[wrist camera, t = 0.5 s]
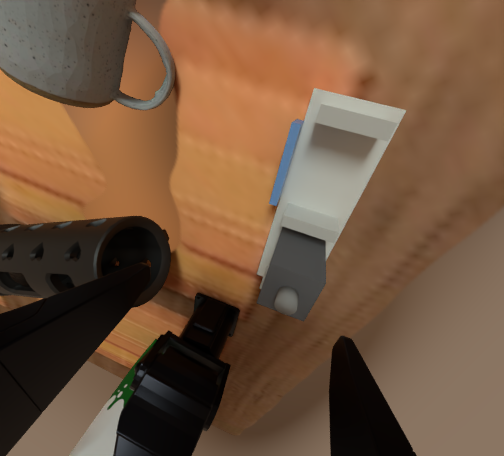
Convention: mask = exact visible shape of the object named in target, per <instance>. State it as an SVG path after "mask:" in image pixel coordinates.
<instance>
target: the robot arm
mask: <svg viewBox="0 0 504 456" xmlns="http://www.w3.org/2000/svg"><path fill="white" fill-rule="evenodd" d="M150 279H151V273H150V266H149V265H148V264H145V263H138V264H135V265H132V266H130V267H127V268H124V269H122V270H119V271H116V272H114V273H111V274H108V275H106V276H103V277H100V278H98V279H95V280H92V281H90V282H87V283H84V284H82V285H79V286H76V287H74V288H71V289H68V290H66V291H63V292H60V293H58V294H55V295H52V296H50V297H48V298H44V299H41V300H39V301H36V302H33V303H31V304H28V305H25V306H22V307H19V308H17V309H14V310H11V311H8V312H5V313H1V314H0V456H6V455H7V454H8V452H9V451H10V450H11V449H12V448H13V447H14V445H15V444H16V443H17V442H18V441H19V440H20V438H21V437H22V436H23V435H24V434H25V433H26V431H27V430H28V429H29V428H30V426H31V425H32V424H33V423H34V422H35V421H36V419H37V418H38V417H39V416H40V415H41V414H42V412H43V411H44V410H45V409H46V408H47V407H48V405H49V404H50V403H51V402H52V401H53V399H54V398H55V397H56V396H57V395H58V394H59V392H60V391H61V390H62V389H63V388H64V387H65V385H66V384H67V383H68V382H69V381H70V379H71V378H72V377H73V376H74V375H75V374H76V372H77V371H78V370H79V369H80V368H81V367H82V365H83V364H84V363H85V362H86V361H87V360H88V358H89V357H90V356H91V355H92V354H93V353H94V351H95V350H96V349H97V348H98V347H99V346H100V344H101V343H102V342H103V341H104V340H105V338H106V337H107V336H108V335H109V334H110V333H111V331H112V330H113V329H114V328H115V327H116V326H117V324H118V323H119V322H120V321H121V320H122V319H123V317H124V316H125V315H126V314H127V313H128V311H129V310H130V309H131V307H132V306H133V305H134V303H135V302H136V300H137V299H138V298H139V296H140V295H141V293H142V292H143V290H144V289H145V287H146V286H147V285H148V283H149V282H150ZM239 312H240V310H239V309H238V308H236V307H233V306H231V305H228V304H226V303H223V302H221V301H218V300H216V299H213V298H211V297H208V296H206V295H203V294H201V293H197V294H196V296H195V304H194V313H193V315H192V317H191V318H190V320H189V321H188V323H187V325H186V326H185V328H184V329H183V331H182V333H181V334H180V336H179V337H178V336H176V335H174V334H172V332H171V331H169V330H168V332H167V333H166V334H165V335H160V337H159V338H158V340H157V341H156V342H155V344H154V345H153V346H152V348H151V349H150V350H149V351H148V352H147V353H146V354H145V356H144V357H143V358H142V359H141V360H140V361H139V362H138V363H137V365H136V366H135V368H134V370H135V376H134V378H133V381H132V383H131V385H130V389H131V390H133V391H134V392H133V393H132V395H131V396H130V398H129V400H128V401H127V403H126V405H125V406H124V408H123V409H122V411H121V414H120V417H119V422H118V426H117V431H116V434H117V436H116V442H115V448H114V454H113V456H192V453H193V451H194V449H195V447H196V444H197V442H198V440H199V438H200V435H201V433H202V430H204V431H207V430H208V429H209V427H210V425H211V423H212V421H213V419H214V417H215V415H216V413H217V410H218V408H219V405H220V402H221V398H222V395H223V391H224V388H225V384H226V380H227V377H228V373H229V369H230V364H228V363H224V362H223V361H221V360H219V357H220V354H221V352H222V349H223V347H224V345H225V342H226V340H227V337H228V336H230V337H232V336H233V333H234V330H235V326H236V323H237V319H238V316H239ZM163 353H164V354H163ZM329 409H330V445H331V456H416V454H415V452H413V449H412V447H411V445H410V443H409V441H408V440H407V438H406V436H405V434H404V432H403V430H402V429H401V427H400V425H399V423H398V421H397V420H396V418H395V416H394V414H393V413H392V411H391V409H390V407H389V405H388V403H387V401H386V400H385V398H384V396H383V394H382V392H381V391H380V389H379V387H378V385H377V384H376V382H375V380H374V378H373V376H372V375H371V373H370V371H369V369H368V367H367V365H366V363H365V362H364V360H363V358H362V356H361V354H360V353H359V351H358V349H357V347H356V346H355V344H354V342H353V340H352V339H350V338H348V337H345V336H340V337H339V339H338V340H337V342H336V343H335V345H334V346H333V349H332V359H331V372H330V385H329Z"/></svg>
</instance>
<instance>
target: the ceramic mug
mask: <svg viewBox="0 0 504 456" xmlns="http://www.w3.org/2000/svg"><path fill="white" fill-rule="evenodd" d="M135 4H136V0H0V69H1V70H2V71H3V72H4V73H5V75H7V76H8V77H9V78H11V79H12V80H13V81H15V82H16V83H18V84H19V85H21V86H22V87H24V88H26V89H27V90H29V91H31V92H34V93H36V94H38V95H40V96H43V97H45V98H48V99H50V100H53V101H56V102H60V103H63V104H67V105H72V106H77V107H83V108H95V107H102V106H105V105H108V104H110V103H111V102H112V101H113V100H116V101H117V102H118V103H120V104H122V105H124V106H127V107H130V108H132V109H138V110H148V109H153V108H156V107H158V106H159V105H161V104H162V103H163V102H164V101H165V100H166V99H167V98H168V96H169V95H170V93H171V91H172V88H173V86H174V81H175V65H174V61H173V58H172V56H171V53H170V50H169V48H168V46H167V44H166V43H165V41H164V40H163V38H162V37H161V35H160V34H159V33H158V32H157V30H156V29H155V28H154V27H153V26H152V25H151V24H150V23H149V22H148V21H147V20H146V19H145V18H144V17H143V16H142V15H141V14H140V13H138V12H137V10H136V9H135ZM132 20H133V21H134V22H135V23H137V24H138V25H139V27H140V28H141V29H142V30H143V31H144V32H145V33H146V34H147V36H148V37H149V38H150V39H151V40H152V41H153V43H154V44H155V46H156V47H157V49H158V51H159V54H160V56H161V58H162V62H163V64H164V66H165V68H166V73H167V74H166V77H165V80H164V82H163V85H162V86H161V88H160V89H159V90H158V91H156V92H155V97H154V98H153V99H151V100H148V101H143V100H140V99H135V98H133V97H130V96H128V95H126V94H124V93H122V92H121V91H120V90H119V88H120V82H121V77H122V72H123V63H124V57H125V53H126V49H127V44H128V40H129V35H130V31H131V24H132Z"/></svg>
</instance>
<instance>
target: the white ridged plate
mask: <svg viewBox="0 0 504 456" xmlns="http://www.w3.org/2000/svg"><path fill="white" fill-rule="evenodd" d="M405 112H406V110H402V109H398V108H394V107H390V106H386V105H382V104H378V103H373V102H369V101H365V100H361V99H357V98H353V97H349V96H345V95H341V94H336V93H332V92H328V91H324V90H320V89H316V88H314V91H313V94H312V97H311V100H310V103H309V107H308V110H307V113H306V116H305V120H304V121H302V120H299V119H296V120H295V121H293V122H292V124H291V128H290V131H289V135H288V138H287V142H286V145H285V149H284V152H283V156H282V160H281V163H280V167H279V170H278V174H277V177H276V181H275V184H274V188H273V191H272V195H271V199H270V202H269V204H271V205H275V206H276V205H277V203H278V201H279V199H280V201H279V204H278V207H277V210H276V214H275V217H274V220H273V223H272V226H271V230H270V233H269V236H268V239H267V243H266V246H265V249H264V252H263V256H262V259H261V262H260V265H259V269H258V272H257V275H260V276H263V279H262V282H261V285H260V288H259V289H261V288H262V285H263V282H264V279H265V276H266V274H267V271H268V268H269V265H270V262H271V259H272V256H273V253H274V250H275V247H276V244H277V241H278V238H279V236H280V233H281V230H282V227H286V228H289V229H292V230H295V231H298V232H301V233H304V234H307V235H310V236H313V237H316V238H319V239H322V240H325V241H326V260H327V258H328V256H329V254H330V252H331V250H332V248H333V247H334V245H335V243H336V241H337V239H338V237H339V235H340V234H341V232H342V230H343V228H344V226H345V224H346V222H347V220H348V219H349V217H350V215H351V213H352V211H353V209H354V207H355V206H356V204H357V202H358V200H359V198H360V196H361V194H362V192H363V191H364V189H365V187H366V185H367V183H368V181H369V179H370V177H371V176H372V174H373V172H374V170H375V168H376V166H377V164H378V163H379V161H380V159H381V157H382V155H383V153H384V151H385V149H386V148H387V146H388V144H389V142H390V140H391V138H392V136H393V135H394V133H395V131H396V129H397V127H398V125H399V123H400V121H401V120H402V118H403V116H404V114H405Z"/></svg>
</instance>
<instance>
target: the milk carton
mask: <svg viewBox="0 0 504 456" xmlns="http://www.w3.org/2000/svg"><path fill="white" fill-rule="evenodd" d="M156 341H157V340H156V339H155V340H154V342H153V343H152V344H151V345H150V346H149V347H148V349H147V350H146V351H145V352H144V353H143V355H142V356H141V357H140V358H139V359H138V361H137V362H136V363H135V364H134V366H133V367H132V368H131V370H130V371H129V372H128V374H127V375H126V377H125V378H124V379H123V381H122V382H121V384H120V385H119V386H118V388H117V389H116V390H115V392H114V393H113V394H112V396H111V397H110V399H109V400H108V402H107V403H106V404H105V406H104V407H103V409H102V410H101V411H100V412H99V414H98V415H97V417H96V418H95V420H94V421H93V422H92V424H91V425H90V426H89V428H88V429H87V431H86V432H85V434H84V435H83V437H82V438H81V439H80V441H79V442H78V443H77V445H76V446H75V448H74V449H73V450H72V452H71V453H70V454H69V456H113V454H114V448H115V442H116V436H117V434H116V431H117V426H118V422H119V417H120V414H121V411H122V409H123V408H124V406H125V405H126V403H127V401H128V400H129V398H130V396H131V395H132V393H133V392H134V391H133V390H131V389H130V385H131V383H132V381H133V378H134V376H135V370H134V368H135V366H136V365H137V363H138V362H139V361H140V360H141V359H142V358H143V357H144V356H145V354H146V353H147V352H148V351H149V350H150V349H151V348H152V346H153V345H154V344H155V342H156ZM163 354H164V353H163Z"/></svg>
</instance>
